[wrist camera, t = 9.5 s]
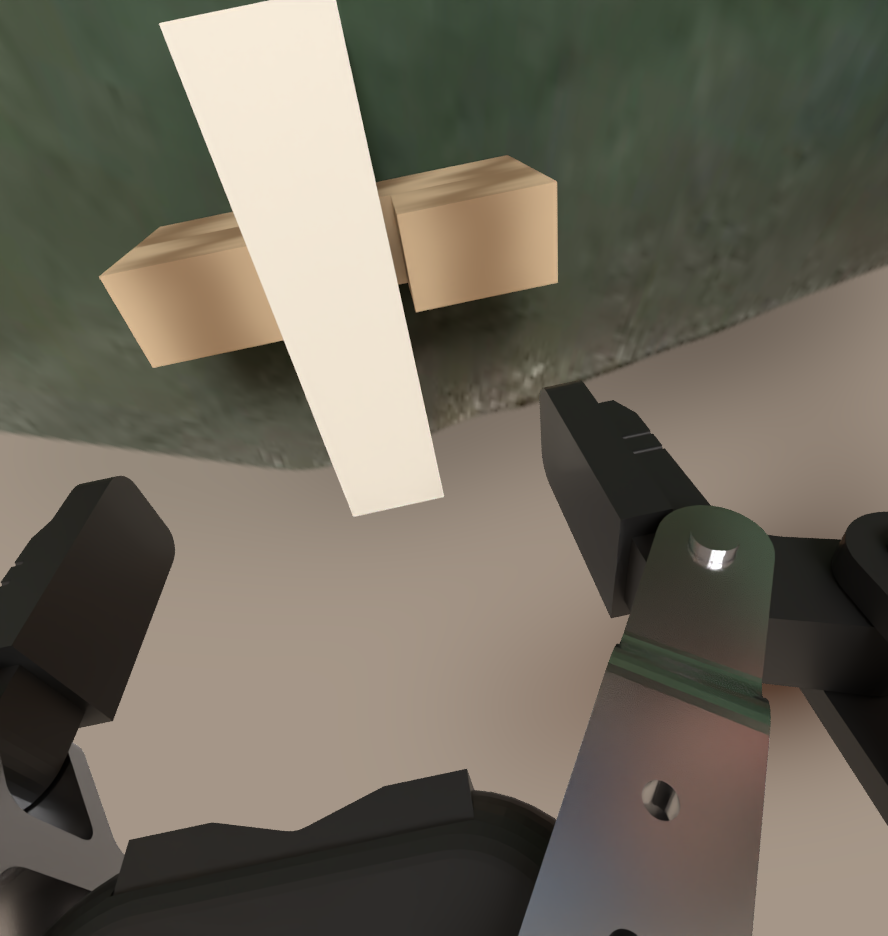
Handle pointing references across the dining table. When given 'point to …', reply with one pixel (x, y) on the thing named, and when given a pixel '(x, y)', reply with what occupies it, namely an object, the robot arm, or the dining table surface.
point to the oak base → (411, 244)
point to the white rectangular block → (314, 231)
